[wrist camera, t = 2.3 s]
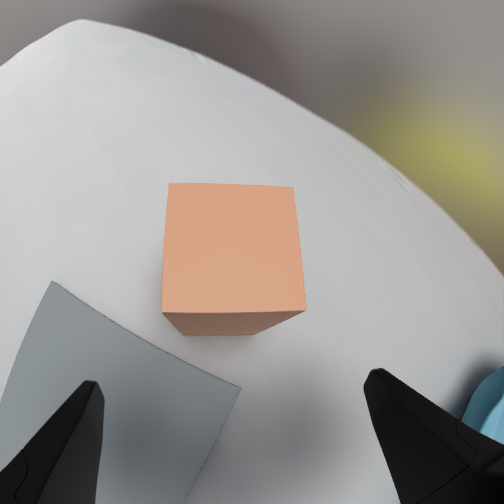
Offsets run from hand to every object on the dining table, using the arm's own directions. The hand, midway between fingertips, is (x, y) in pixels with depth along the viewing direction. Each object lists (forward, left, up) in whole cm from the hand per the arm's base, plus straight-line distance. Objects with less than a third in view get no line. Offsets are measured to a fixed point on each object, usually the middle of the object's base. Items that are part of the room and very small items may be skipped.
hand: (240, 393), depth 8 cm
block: (+5, +2, -12) cm, 13 cm away
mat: (-11, +6, -12) cm, 17 cm away
